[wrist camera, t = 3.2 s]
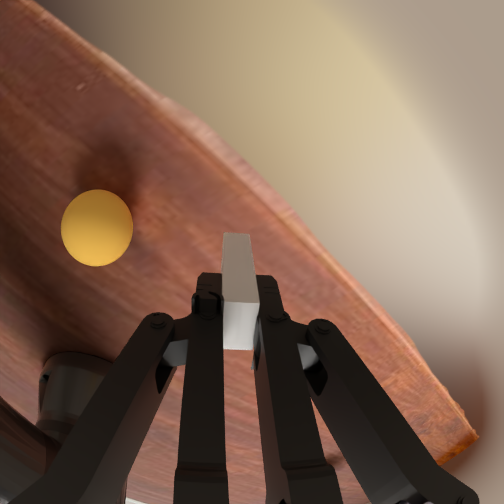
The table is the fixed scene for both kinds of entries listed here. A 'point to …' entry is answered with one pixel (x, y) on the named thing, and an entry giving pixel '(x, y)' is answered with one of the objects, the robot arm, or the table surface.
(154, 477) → the table surface
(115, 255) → the ball
